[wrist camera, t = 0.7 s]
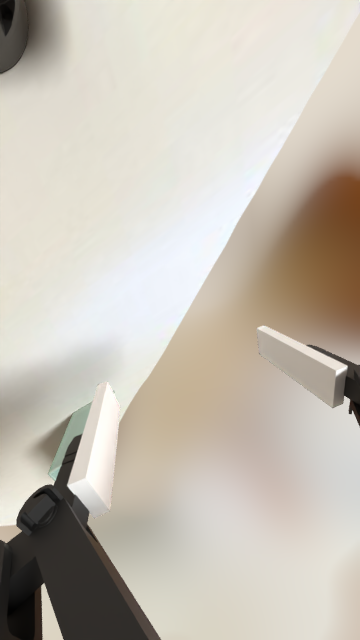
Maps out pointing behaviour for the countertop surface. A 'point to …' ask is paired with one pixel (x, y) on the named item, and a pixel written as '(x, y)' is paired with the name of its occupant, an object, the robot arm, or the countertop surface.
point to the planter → (69, 437)
